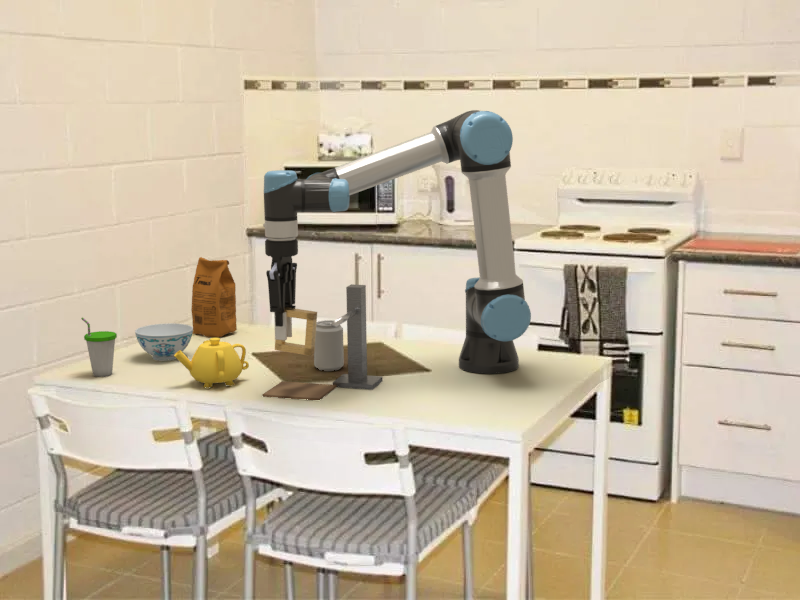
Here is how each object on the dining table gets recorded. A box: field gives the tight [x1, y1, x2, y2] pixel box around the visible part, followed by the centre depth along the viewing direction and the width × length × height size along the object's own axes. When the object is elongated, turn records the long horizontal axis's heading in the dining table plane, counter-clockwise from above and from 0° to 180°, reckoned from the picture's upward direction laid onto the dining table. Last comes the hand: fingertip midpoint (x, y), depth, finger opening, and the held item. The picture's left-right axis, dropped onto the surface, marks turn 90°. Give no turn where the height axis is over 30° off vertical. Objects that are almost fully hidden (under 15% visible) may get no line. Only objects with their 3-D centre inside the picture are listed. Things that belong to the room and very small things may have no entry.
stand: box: [331, 283, 384, 391], centre depth 270 cm, size 10×20×24 cm, turn 164°
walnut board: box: [261, 380, 338, 401], centre depth 272 cm, size 14×12×1 cm
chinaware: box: [134, 322, 193, 362], centre depth 306 cm, size 15×15×8 cm
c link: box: [274, 307, 318, 356], centre depth 269 cm, size 9×2×10 cm, turn 74°
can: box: [313, 319, 345, 372], centre depth 293 cm, size 8×8×12 cm
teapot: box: [174, 337, 250, 389], centre depth 280 cm, size 14×14×11 cm
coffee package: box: [190, 256, 238, 338], centre depth 333 cm, size 10×12×22 cm
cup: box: [80, 316, 118, 378], centre depth 288 cm, size 8×8×15 cm
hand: (283, 337), depth 270 cm, fingers closed on c link, 2 cm apart
